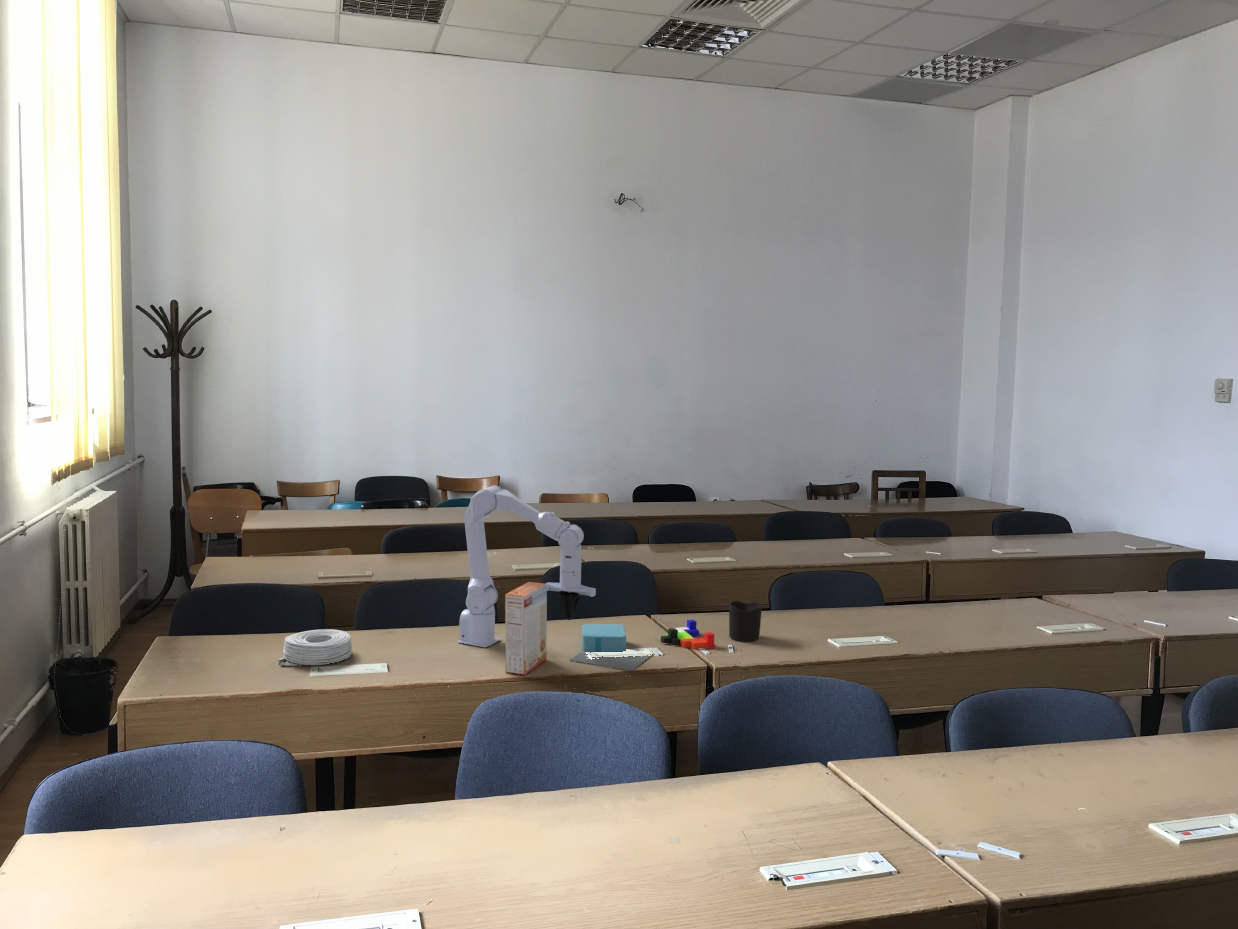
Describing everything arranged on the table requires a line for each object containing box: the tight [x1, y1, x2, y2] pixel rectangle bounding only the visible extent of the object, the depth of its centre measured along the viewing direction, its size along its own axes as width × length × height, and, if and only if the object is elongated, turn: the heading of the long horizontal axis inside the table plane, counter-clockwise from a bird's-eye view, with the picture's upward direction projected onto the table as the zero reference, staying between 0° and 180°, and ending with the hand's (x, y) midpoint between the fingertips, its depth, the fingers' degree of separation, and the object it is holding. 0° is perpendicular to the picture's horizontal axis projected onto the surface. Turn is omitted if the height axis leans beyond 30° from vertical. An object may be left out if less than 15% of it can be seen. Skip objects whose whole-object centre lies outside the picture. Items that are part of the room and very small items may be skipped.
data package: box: [581, 623, 627, 652], centre depth 264 cm, size 12×4×12 cm
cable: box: [277, 628, 353, 667], centre depth 250 cm, size 18×18×6 cm
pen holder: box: [728, 600, 763, 643], centre depth 275 cm, size 9×9×10 cm
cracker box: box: [504, 581, 548, 676], centre depth 246 cm, size 14×6×21 cm, turn 160°
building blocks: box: [660, 619, 715, 650], centre depth 271 cm, size 15×13×4 cm
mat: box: [569, 652, 651, 672], centre depth 256 cm, size 18×16×1 cm
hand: (569, 618), depth 260 cm, fingers closed
